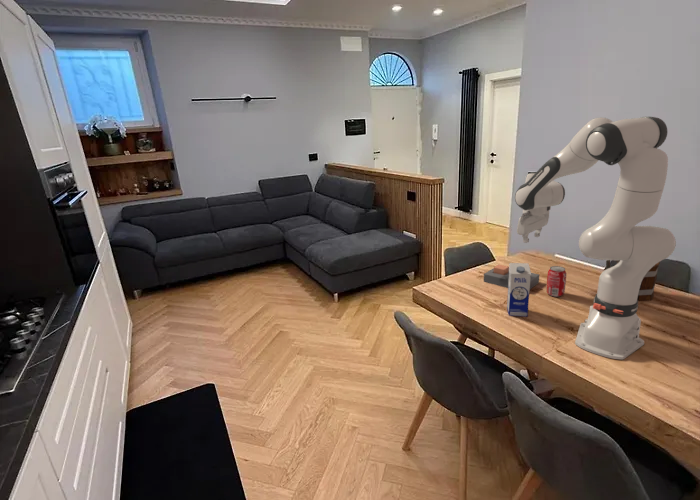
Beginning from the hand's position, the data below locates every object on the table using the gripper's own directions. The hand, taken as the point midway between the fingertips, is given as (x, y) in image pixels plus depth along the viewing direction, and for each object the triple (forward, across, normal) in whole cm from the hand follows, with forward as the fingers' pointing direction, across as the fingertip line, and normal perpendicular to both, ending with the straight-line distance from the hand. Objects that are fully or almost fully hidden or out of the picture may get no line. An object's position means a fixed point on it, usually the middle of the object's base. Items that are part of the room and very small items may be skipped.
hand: (531, 239), depth 165 cm
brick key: (+19, -2, +12) cm, 23 cm away
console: (+22, -2, +7) cm, 23 cm away
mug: (+22, +20, -32) cm, 44 cm away
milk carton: (+22, -27, -10) cm, 36 cm away
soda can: (+22, -2, -13) cm, 26 cm away
